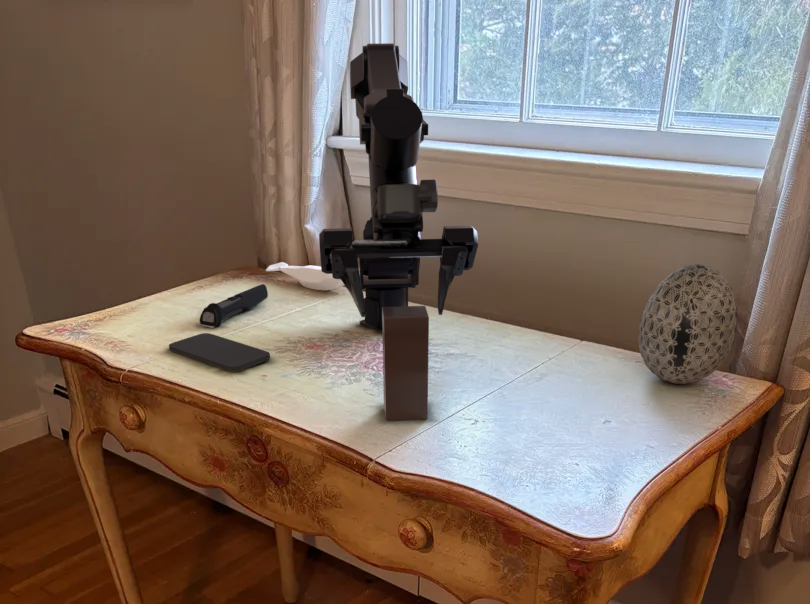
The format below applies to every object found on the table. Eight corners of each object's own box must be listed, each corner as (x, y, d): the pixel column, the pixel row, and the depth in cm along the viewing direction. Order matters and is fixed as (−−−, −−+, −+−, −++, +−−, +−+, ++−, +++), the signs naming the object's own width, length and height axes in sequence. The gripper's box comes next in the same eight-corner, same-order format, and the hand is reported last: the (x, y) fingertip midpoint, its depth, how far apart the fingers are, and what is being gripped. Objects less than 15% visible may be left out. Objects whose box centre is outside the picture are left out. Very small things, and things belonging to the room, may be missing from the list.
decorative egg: (727, 372, 107) (754, 258, 99) (718, 405, 98) (746, 282, 90) (639, 360, 111) (658, 249, 103) (623, 390, 102) (642, 271, 94)
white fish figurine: (338, 299, 135) (337, 275, 133) (265, 281, 145) (262, 259, 142) (359, 292, 139) (358, 268, 137) (286, 275, 148) (284, 253, 146)
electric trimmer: (274, 303, 134) (273, 284, 133) (217, 328, 123) (214, 308, 121) (256, 300, 136) (254, 281, 134) (198, 325, 124) (195, 305, 122)
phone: (206, 331, 119) (273, 353, 111) (206, 337, 119) (274, 358, 111) (165, 345, 114) (232, 368, 106) (166, 350, 115) (233, 374, 107)
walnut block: (383, 407, 98) (381, 306, 91) (424, 405, 98) (425, 305, 91) (385, 421, 95) (384, 317, 88) (427, 419, 95) (428, 316, 88)
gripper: (314, 153, 88) (319, 280, 85) (479, 150, 90) (491, 276, 86) (319, 214, 99) (324, 329, 96) (466, 211, 100) (476, 324, 97)
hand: (402, 314), depth 94 cm, fingers open, 9 cm apart
